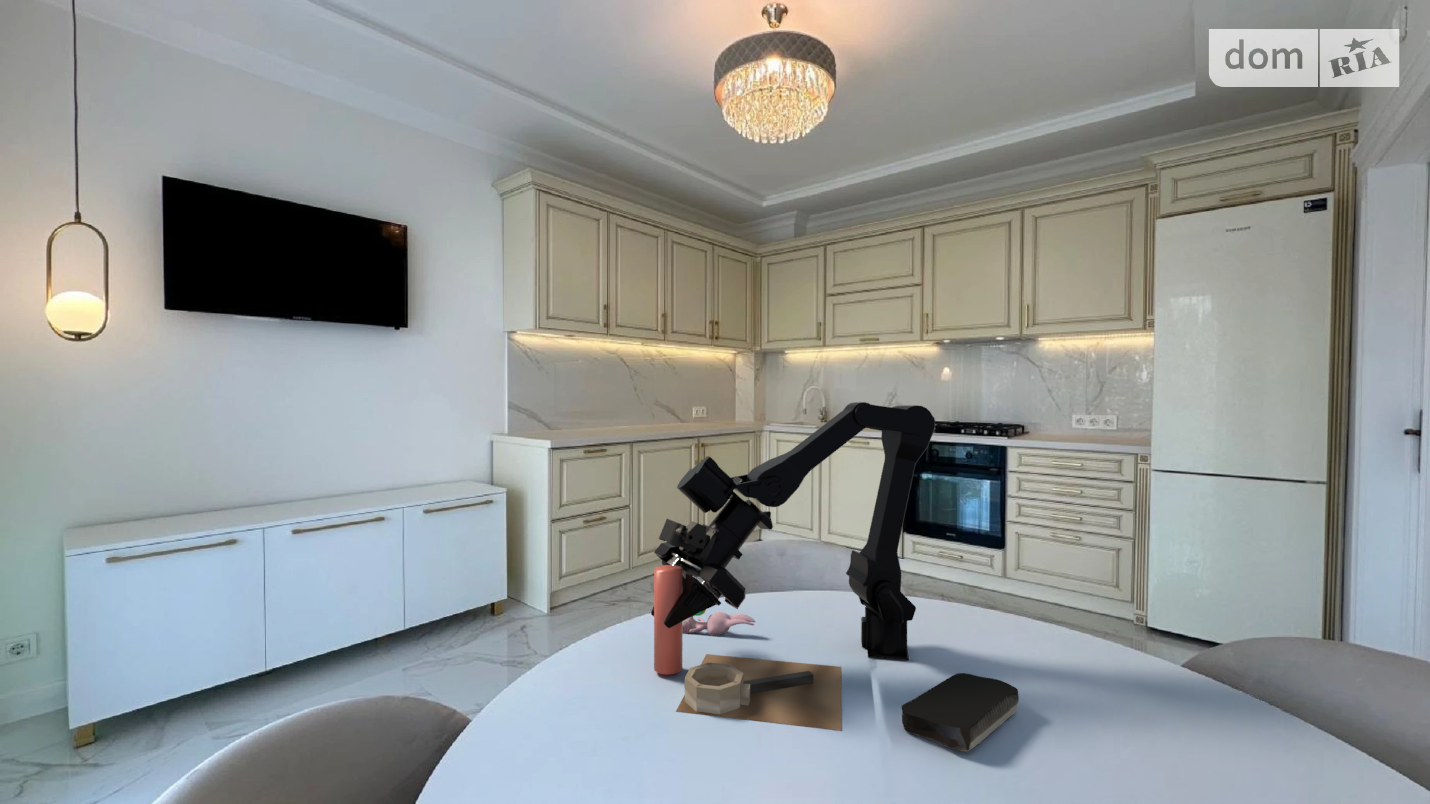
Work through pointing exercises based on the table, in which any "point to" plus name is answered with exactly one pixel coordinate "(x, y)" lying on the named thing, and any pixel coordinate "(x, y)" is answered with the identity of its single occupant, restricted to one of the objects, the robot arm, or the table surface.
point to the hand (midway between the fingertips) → (659, 621)
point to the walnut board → (765, 691)
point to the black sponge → (960, 710)
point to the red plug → (665, 638)
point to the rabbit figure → (715, 623)
